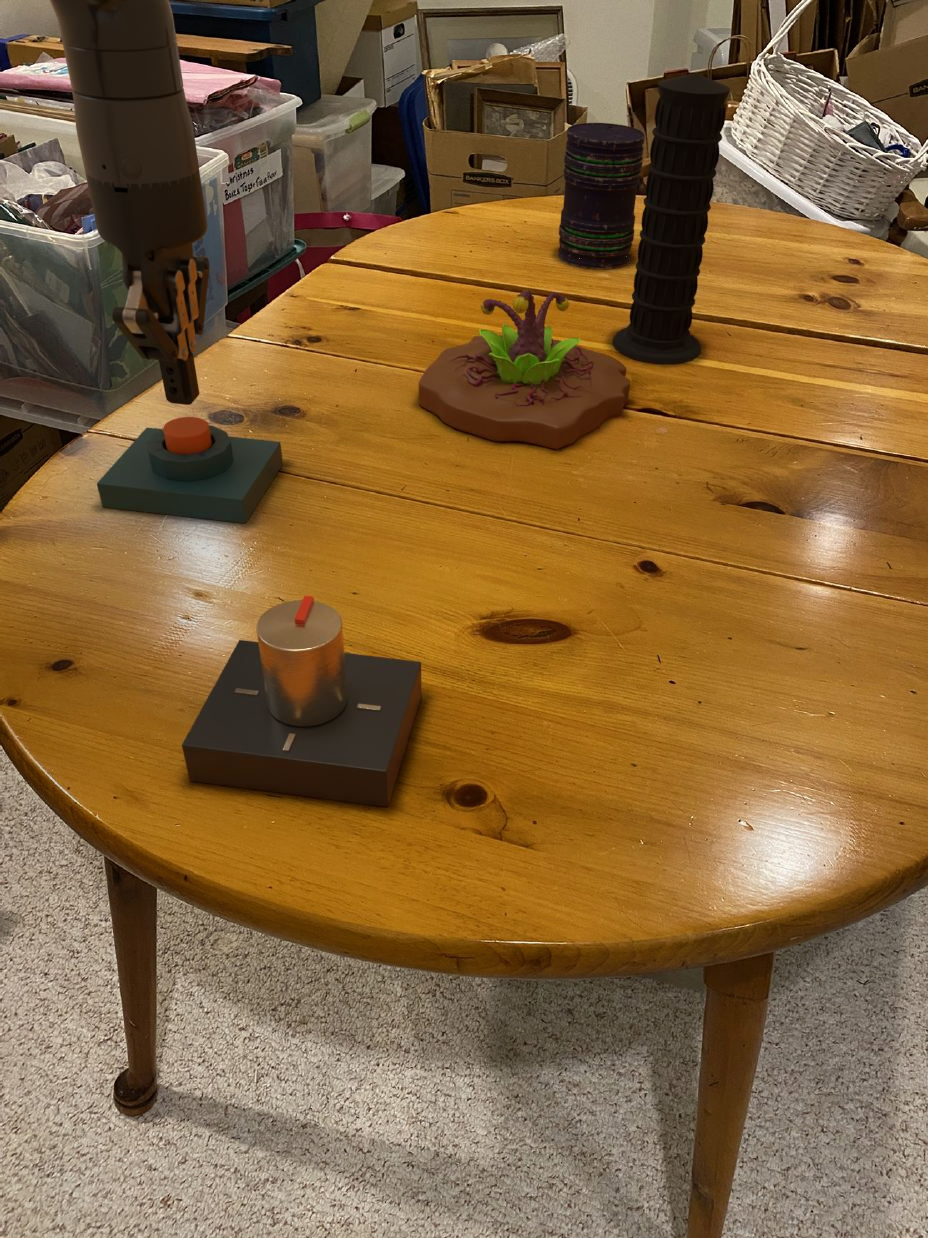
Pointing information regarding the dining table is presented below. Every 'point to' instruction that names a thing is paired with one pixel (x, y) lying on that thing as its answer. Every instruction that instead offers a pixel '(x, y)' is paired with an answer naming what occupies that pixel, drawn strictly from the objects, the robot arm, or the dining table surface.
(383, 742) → the panel
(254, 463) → the button block
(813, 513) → the dining table surface
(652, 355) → the handle grip
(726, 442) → the dining table surface
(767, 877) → the dining table surface
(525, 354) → the plant
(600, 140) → the storage jar
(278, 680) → the knob
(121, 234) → the robot arm
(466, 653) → the dining table surface
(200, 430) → the button
